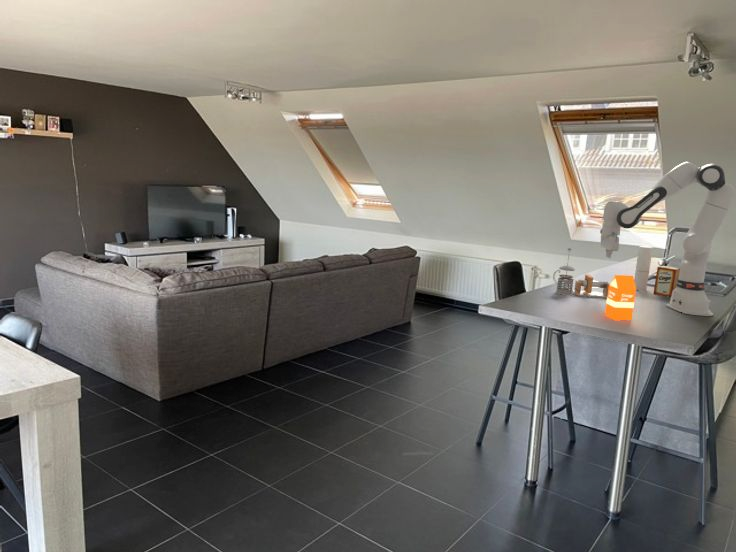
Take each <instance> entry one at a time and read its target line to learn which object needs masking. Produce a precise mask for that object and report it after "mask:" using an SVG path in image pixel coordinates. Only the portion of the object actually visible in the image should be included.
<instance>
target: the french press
mask: <svg viewBox="0 0 736 552" xmlns="http://www.w3.org/2000/svg"><path fill="white" fill-rule="evenodd" d="M567 251H568V252H570V251H572V248H570V247H569V248H567ZM569 259H570V255H568V258H567V260H569ZM561 270H562V271H566V274H560V273H561ZM574 271H576V269H575V268H574V267H573V266H570V265H569V263H567V264H566V265H562V266H560V267H559V269H557V270H556V271H554V273H553V274H552V275H553V276H552V279H553V281H554V282H556V290H555V291H554V294H556V293H558V294H557V295H560V294H562V295H561V296H567V295H570V296H573V295H572V294H574V293H573V292H572V290H573V286H574V279H573V278H574V276H573V275H568V272H574ZM557 272H558V273H559V278H557V280H556V279H555V276H556V274H557Z"/></svg>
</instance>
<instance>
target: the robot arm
mask: <svg viewBox="0 0 736 552" xmlns="http://www.w3.org/2000/svg"><path fill="white" fill-rule="evenodd" d="M694 183H698V184H699V185H701V186H702V187H704V188H706V189H707V190H708V192H707V196H706V198H705V199H704V202H703V203H702V205H701V207H700V209H699V210H698V213H697V215H696V217H695V219H694V220H693V222H692V224H691V225H690V227H689V229H688V231H687V233H686V235H684V238H683V241H682V248H683V250H684V251H683V255H682V259H681V263H680V268H679V269H680V272H679V278H678V279H677V284H676V286H677V287H676V288H675V289H674V290H673V291H672V295H671V297H670V300H669V303H666V305H665V306H666V307H668V308H670V309H672V310H674V311H677V312H680V313H681V312H682V314H686V315H693V316H699V317H700V316H702V317H713V316H714V313H713V312H712V311H711V310H710V309H709V308H710V307H709V306H710V305H711V303H712V301H711V300H709V299H708V296H707V295H706V292H705V289H706V287H705V286H706V285H705V282H704V281H705V277H706V271H707V265H708V261H709V258H710V257H709V256H710V252H711V248H712V242H713V240H714V237H715V236H716V234H717V232H718V230H719V229H720V227H721V225H722V224H723V221H724V220H725V218H726V216H727V214H728V212H729V210H730V208H731V206H732V204H733V202H734V198H735V195H736V189H735V187H734V186H733V185H731V184H730V183H727V182H726V179H725V172H724V169H723V167H721V165H720V164H719V165H718V164H717V163H716V164H715V163H708V164H704V165H702V166H697V165H695V163H693V162H690V161H685V162H682V163H680V164H679V165H676V166H675V167H674V168H672V169H671V170H670V171H668V172H667V173H666V174H664V175H663V176H662V177H661V178H659V180H658V182H656V184H655V185H654V186H653V187H652V189H651V190H650V191H649V192H648V193H647V194H646V195H645V196H644V197H642V198H641V199H640V200H638V201H637V202H635V204H633V205H631V206H629V205H627V204H625V203H623V202H622V201H621V200H615V201H609V202H607V203H606V204H605V205H604V209H603V215H602V217H603V219H602V220H603V223H602V225H601V226H602V227H601V229H600V231H599V233H600V247H601V248H604V249H605V254H606V255H605V257H606V258H608V259H611V258H612V255H613V252H618V251H619V247H620V237H619V236H620V235H621V228H623V229H633V228H634V227H635V226H637V225H638V224H640V223H641V221H642V216H643V215H644V214H646V212H648V211H650V209H652V208H653V207H654V206H656V205H657V204H659V203H660V202H661V203H662V202H663V201H666V200H669V199H671V198H673V197H674V196H677V195H679V193H681V192H682V191H683V190H684V189H686V188H687V187H689V186H690V185H692V184H694Z"/></svg>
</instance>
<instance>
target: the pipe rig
mask: <svg viewBox="0 0 736 552" xmlns="http://www.w3.org/2000/svg"><path fill="white" fill-rule="evenodd" d="M609 285H610V283H609V282H608V281H601V280H598V281H597V280H593V283H592V289H593V288H595V289H596V288H597V289H602V291H591V293H587V292H585V291H584V290H582V287H583V288H584V287H587V286H588V280H585V279H576V280H575V283H574V289H572V293H573V292H574V293H575V294H576V295H578V296H577V297H586V296H590V298H599V297H603V298H602V299H607V296H608V289H609ZM574 293H573V294H574ZM575 294H574V295H575ZM576 295H575V296H576Z"/></svg>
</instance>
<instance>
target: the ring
mask: <svg viewBox="0 0 736 552" xmlns="http://www.w3.org/2000/svg"><path fill="white" fill-rule="evenodd" d="M584 280H588V286H587V287H583V289H582V291H585V292H587V293H591V292H593V291H592V290H593V287H592V283H593V281H594V277H593V276H592V275H590V274H585V275H584Z"/></svg>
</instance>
